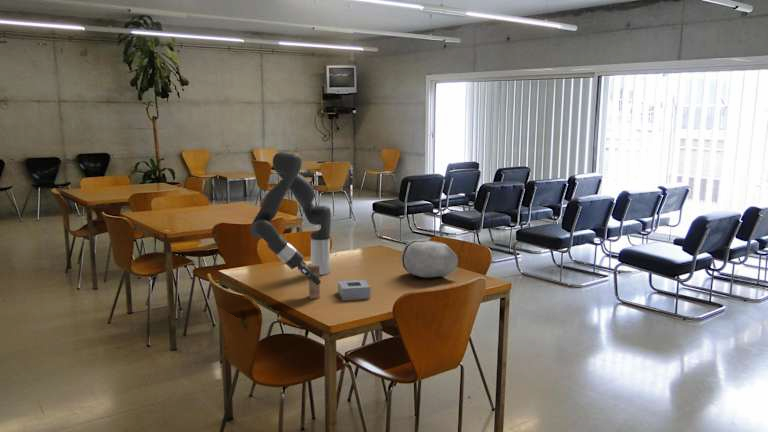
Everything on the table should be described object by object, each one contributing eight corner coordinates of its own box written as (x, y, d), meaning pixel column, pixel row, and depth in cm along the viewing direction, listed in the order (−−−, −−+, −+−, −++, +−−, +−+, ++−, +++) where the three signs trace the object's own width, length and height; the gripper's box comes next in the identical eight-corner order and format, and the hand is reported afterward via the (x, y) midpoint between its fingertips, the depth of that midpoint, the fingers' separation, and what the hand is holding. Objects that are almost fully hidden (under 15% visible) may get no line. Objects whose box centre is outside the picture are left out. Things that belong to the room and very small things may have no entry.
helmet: (438, 236, 313) (393, 235, 295) (473, 245, 294) (427, 245, 275) (434, 270, 315) (389, 271, 297) (469, 281, 295) (423, 284, 277)
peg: (309, 295, 261) (308, 264, 259) (318, 295, 262) (318, 263, 260) (310, 298, 257) (309, 266, 255) (319, 298, 258) (319, 266, 256)
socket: (337, 292, 267) (337, 281, 266) (364, 290, 270) (364, 279, 269) (342, 300, 255) (342, 288, 255) (370, 298, 258) (370, 287, 257)
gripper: (297, 252, 247) (326, 279, 252) (294, 245, 261) (322, 271, 266) (284, 266, 247) (314, 292, 252) (282, 258, 261) (310, 283, 266)
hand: (318, 281), depth 259 cm, fingers open, 5 cm apart
